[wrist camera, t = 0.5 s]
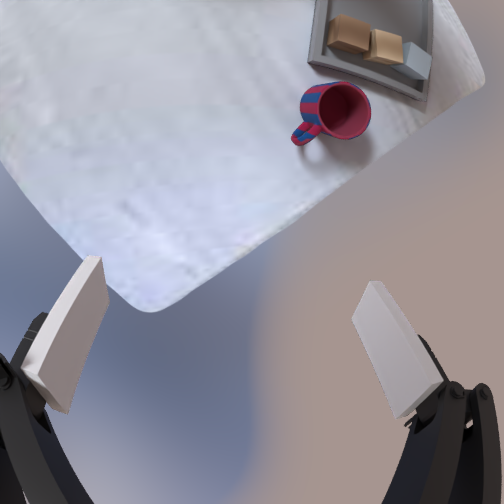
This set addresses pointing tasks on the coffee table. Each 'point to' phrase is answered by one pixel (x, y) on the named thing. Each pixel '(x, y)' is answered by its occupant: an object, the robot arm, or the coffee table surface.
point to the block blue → (414, 62)
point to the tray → (379, 17)
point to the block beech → (384, 48)
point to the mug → (333, 112)
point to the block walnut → (348, 34)
